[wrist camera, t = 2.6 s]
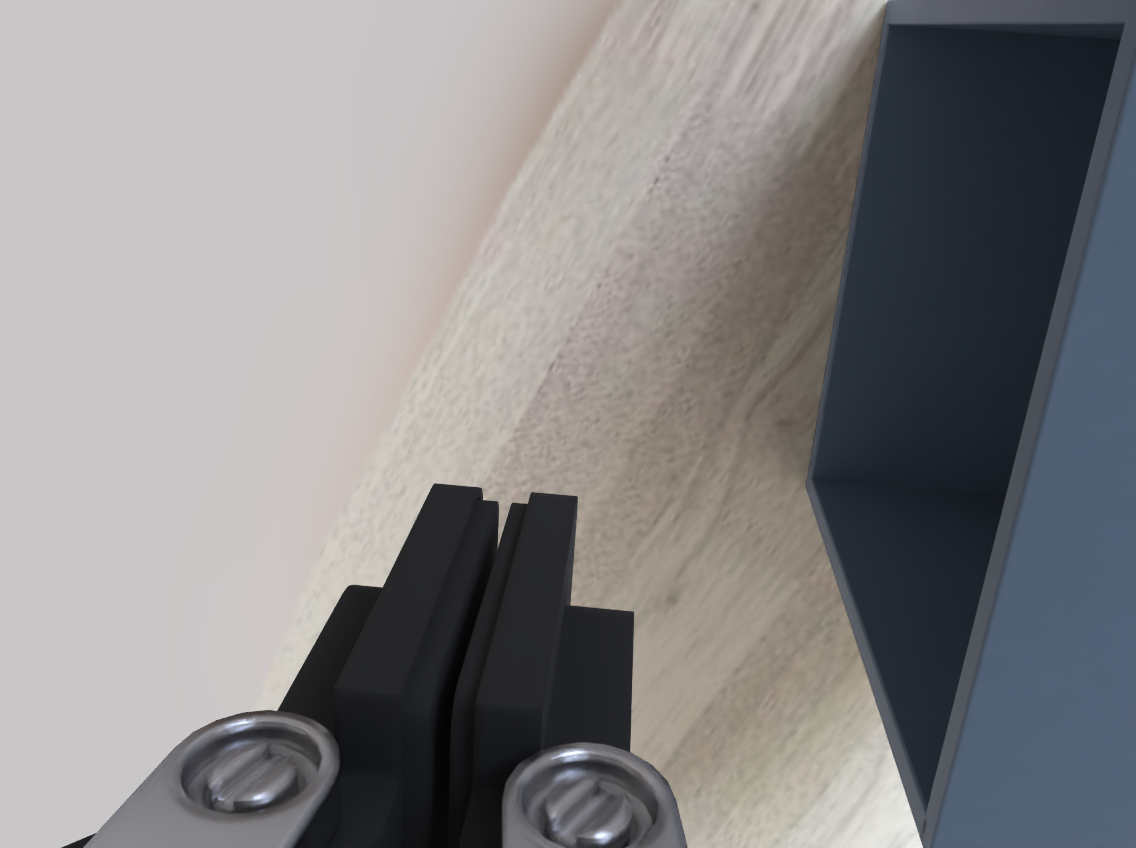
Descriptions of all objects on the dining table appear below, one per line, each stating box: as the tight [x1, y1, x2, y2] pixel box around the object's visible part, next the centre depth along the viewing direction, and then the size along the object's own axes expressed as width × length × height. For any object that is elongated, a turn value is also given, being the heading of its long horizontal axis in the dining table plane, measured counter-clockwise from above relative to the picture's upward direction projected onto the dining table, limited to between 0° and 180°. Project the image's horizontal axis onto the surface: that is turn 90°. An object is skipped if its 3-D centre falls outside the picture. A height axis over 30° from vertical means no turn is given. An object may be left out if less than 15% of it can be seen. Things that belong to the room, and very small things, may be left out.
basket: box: [806, 0, 1136, 848], centre depth 21 cm, size 8×14×15 cm, turn 176°
